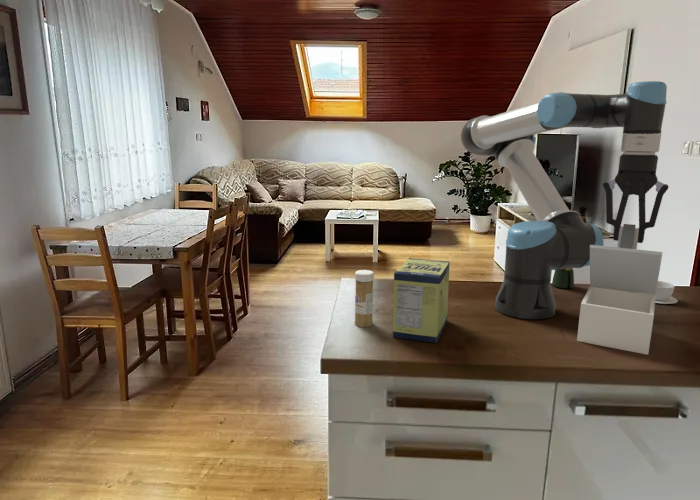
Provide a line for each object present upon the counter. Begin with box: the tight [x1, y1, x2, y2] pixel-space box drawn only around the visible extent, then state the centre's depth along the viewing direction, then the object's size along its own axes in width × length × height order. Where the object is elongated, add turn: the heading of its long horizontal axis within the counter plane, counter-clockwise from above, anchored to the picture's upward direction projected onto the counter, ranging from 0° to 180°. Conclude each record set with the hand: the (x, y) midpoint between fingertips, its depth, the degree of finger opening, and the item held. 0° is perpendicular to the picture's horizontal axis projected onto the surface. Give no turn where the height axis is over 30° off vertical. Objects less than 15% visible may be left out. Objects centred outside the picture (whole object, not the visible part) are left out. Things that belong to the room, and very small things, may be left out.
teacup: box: [644, 280, 679, 305], centre depth 143 cm, size 10×10×5 cm
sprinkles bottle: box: [354, 269, 375, 328], centre depth 121 cm, size 5×5×13 cm
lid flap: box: [589, 223, 663, 295], centre depth 117 cm, size 16×14×9 cm
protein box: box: [392, 257, 451, 344], centre depth 119 cm, size 10×16×16 cm
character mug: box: [551, 268, 575, 289], centre depth 153 cm, size 11×7×13 cm, turn 99°
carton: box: [576, 285, 656, 355], centre depth 115 cm, size 14×16×9 cm
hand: (626, 255), depth 118 cm, fingers closed on lid flap, 2 cm apart
